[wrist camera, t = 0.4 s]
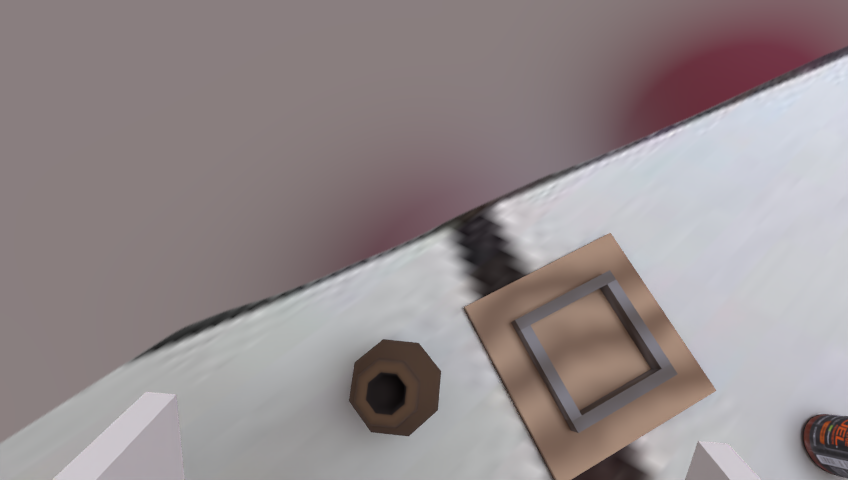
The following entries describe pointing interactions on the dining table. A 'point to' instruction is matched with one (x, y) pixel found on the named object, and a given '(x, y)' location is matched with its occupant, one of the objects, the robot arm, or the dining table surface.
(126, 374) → the dining table surface
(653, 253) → the dining table surface
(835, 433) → the supplement bottle
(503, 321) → the holder board
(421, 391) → the beer bottle
